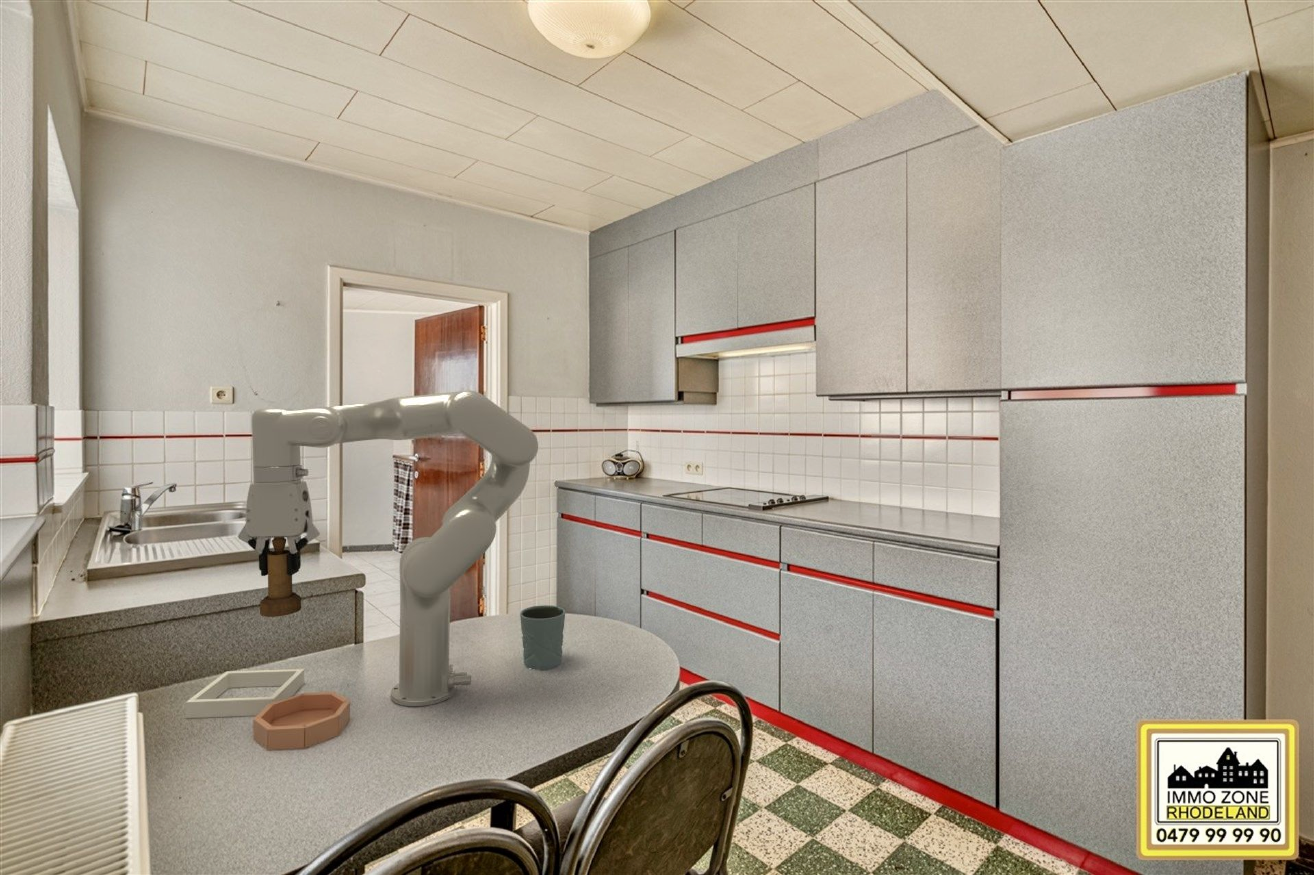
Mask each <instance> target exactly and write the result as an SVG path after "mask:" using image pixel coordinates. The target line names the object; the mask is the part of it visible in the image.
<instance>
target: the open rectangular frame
mask: <svg viewBox="0 0 1314 875" xmlns="http://www.w3.org/2000/svg"><path fill="white" fill-rule="evenodd" d="M303 685H305V668H297V669H296V668H293V669H291V668H289V669H267V670H266V669H265V670H264V669H263V670H258V669H257V670H231V671H229V670H227V671H225V672H223V673H222V674H221V675H219V676H218V677H217V678H216V679H214V680H213V681H212V682H210V683H209V684H207V685H206V686H205V687H203V689H201V690H200V691H198V692H197V693H196V694H195V695H193V696H192V697H190V698H189V699H188V700H187V701H185V719H204V718H207V719H208V718H223V717H224V718H225V717H227V718H228V717H229V718H230V717H248V716H249V717H253V716H254V717H256V716H257V715H258V714H259V713H260V712H261V711H262V710H263V709H264V708H265V707H266V706H267V705H268V704H270V703H273V702H276V701H279V700H282V699H285V698H289V697H292V696H294V694H296V693H297V692H298V690H300V688H301V687H303ZM259 687H263V688H265V687H279V688H278V689H277V690H276V691H275V692H274V693H273V694H272V695H271V696H260V697H259V696H258V697H252V696H251V697H234V698H233V697H229V698H228V697H227V698H218V697H220V696H221V695H222V694H223V693H224V692H226V691H227V690H228V689H230V688H231V689H232V688H233V689H234V688H236V689H237V688H259Z"/></svg>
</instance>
